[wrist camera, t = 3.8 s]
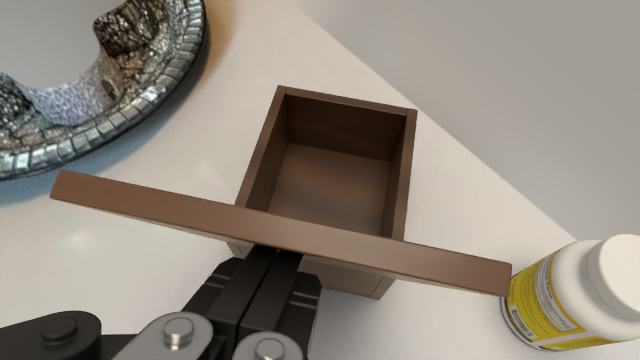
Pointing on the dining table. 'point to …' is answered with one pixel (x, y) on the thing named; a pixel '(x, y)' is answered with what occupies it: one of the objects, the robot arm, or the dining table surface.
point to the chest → (333, 173)
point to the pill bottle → (578, 296)
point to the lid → (287, 234)
